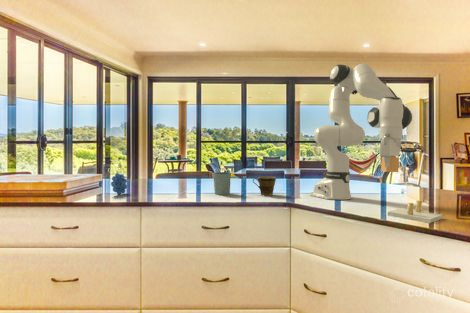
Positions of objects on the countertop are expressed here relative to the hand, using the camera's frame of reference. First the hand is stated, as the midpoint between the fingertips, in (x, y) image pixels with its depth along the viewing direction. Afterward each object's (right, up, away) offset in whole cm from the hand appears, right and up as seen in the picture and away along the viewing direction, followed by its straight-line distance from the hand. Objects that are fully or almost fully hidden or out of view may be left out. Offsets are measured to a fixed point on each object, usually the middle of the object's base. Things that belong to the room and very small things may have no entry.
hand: (389, 166), depth 136 cm
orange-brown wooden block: (0, -2, 0) cm, 2 cm away
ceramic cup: (-50, -17, +43) cm, 68 cm away
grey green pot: (-74, -17, +45) cm, 88 cm away
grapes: (-129, -17, +39) cm, 136 cm away
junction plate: (+7, -20, -7) cm, 22 cm away
